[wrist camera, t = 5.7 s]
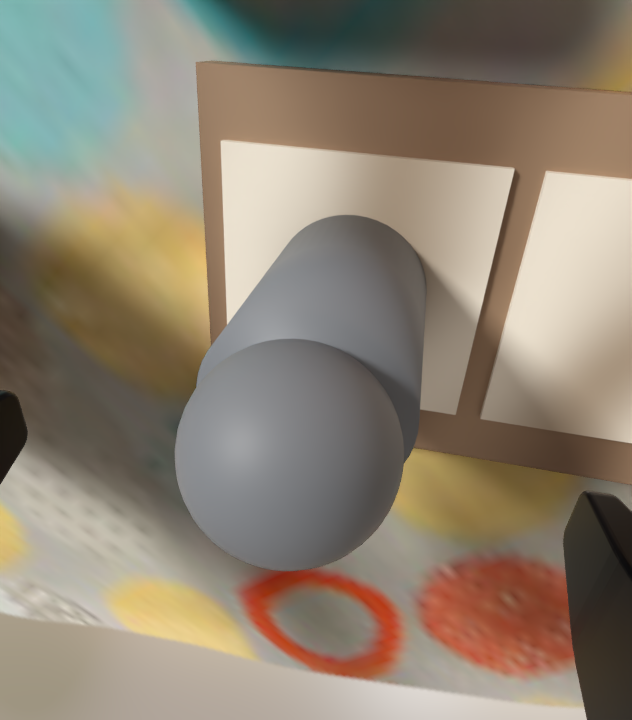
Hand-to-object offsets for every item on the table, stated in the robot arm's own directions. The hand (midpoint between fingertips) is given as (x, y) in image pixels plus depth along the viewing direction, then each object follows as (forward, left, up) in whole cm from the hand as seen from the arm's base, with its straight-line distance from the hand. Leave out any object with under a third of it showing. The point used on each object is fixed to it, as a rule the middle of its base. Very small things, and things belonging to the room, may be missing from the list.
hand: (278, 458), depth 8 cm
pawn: (0, 0, -7) cm, 7 cm away
